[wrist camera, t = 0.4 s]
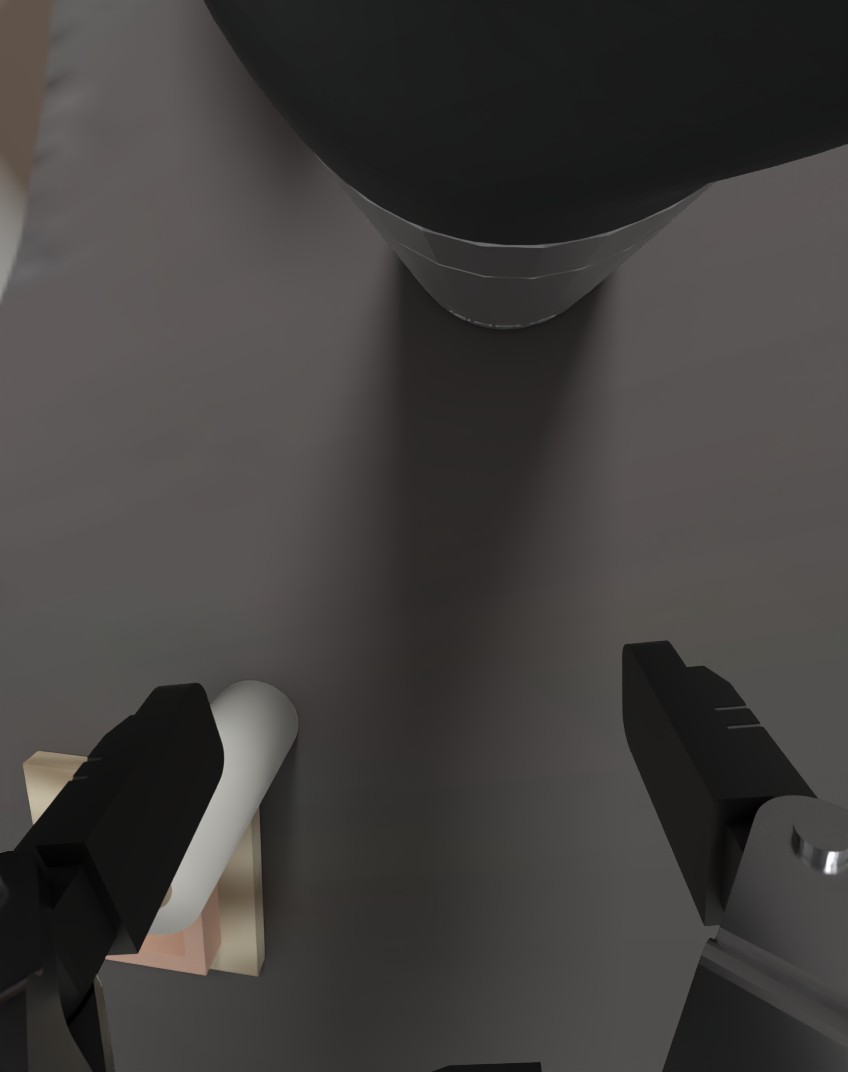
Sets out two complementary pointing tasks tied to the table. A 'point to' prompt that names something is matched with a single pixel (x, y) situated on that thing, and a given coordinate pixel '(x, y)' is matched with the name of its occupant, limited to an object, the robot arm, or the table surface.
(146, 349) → the table surface
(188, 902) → the paper roll
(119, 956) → the roll holder
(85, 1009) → the robot arm
